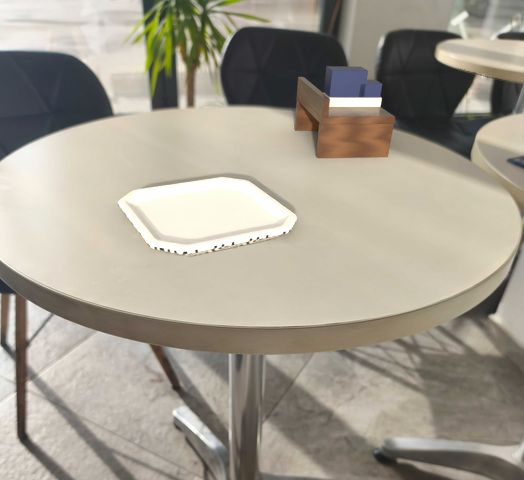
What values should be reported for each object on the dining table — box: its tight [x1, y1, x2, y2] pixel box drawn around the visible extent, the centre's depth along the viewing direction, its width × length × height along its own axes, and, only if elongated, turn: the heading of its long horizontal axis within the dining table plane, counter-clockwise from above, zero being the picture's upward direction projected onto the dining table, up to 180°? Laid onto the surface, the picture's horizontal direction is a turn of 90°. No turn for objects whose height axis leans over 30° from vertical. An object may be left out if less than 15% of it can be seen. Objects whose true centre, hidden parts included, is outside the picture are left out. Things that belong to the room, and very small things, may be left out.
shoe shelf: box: [293, 76, 396, 159], centre depth 99 cm, size 14×20×10 cm
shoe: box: [323, 65, 383, 107], centre depth 95 cm, size 11×5×6 cm, turn 100°
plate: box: [117, 176, 298, 257], centre depth 68 cm, size 21×21×2 cm
